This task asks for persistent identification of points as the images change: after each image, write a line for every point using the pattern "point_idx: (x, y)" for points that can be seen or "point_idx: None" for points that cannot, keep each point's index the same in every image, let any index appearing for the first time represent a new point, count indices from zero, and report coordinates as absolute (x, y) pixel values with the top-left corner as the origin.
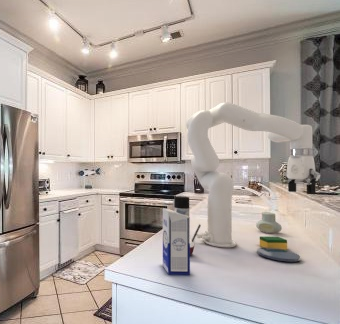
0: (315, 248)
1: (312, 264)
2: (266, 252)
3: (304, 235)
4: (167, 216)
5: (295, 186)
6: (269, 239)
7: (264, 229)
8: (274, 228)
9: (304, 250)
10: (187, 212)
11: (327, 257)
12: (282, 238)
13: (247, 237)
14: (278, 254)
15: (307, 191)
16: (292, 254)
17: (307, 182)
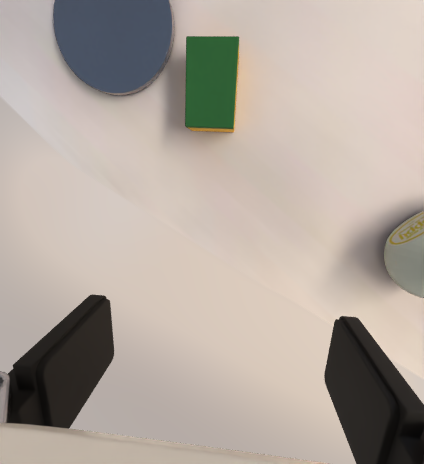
0: (206, 240)
1: (64, 98)
2: None
3: None
4: None
5: (347, 428)
6: (190, 49)
7: (420, 217)
8: (391, 244)
9: (186, 186)
10: None
11: (127, 199)
12: (206, 123)
13: (358, 83)
14: (93, 12)
15: (81, 304)
16: (99, 69)
17: (3, 400)
